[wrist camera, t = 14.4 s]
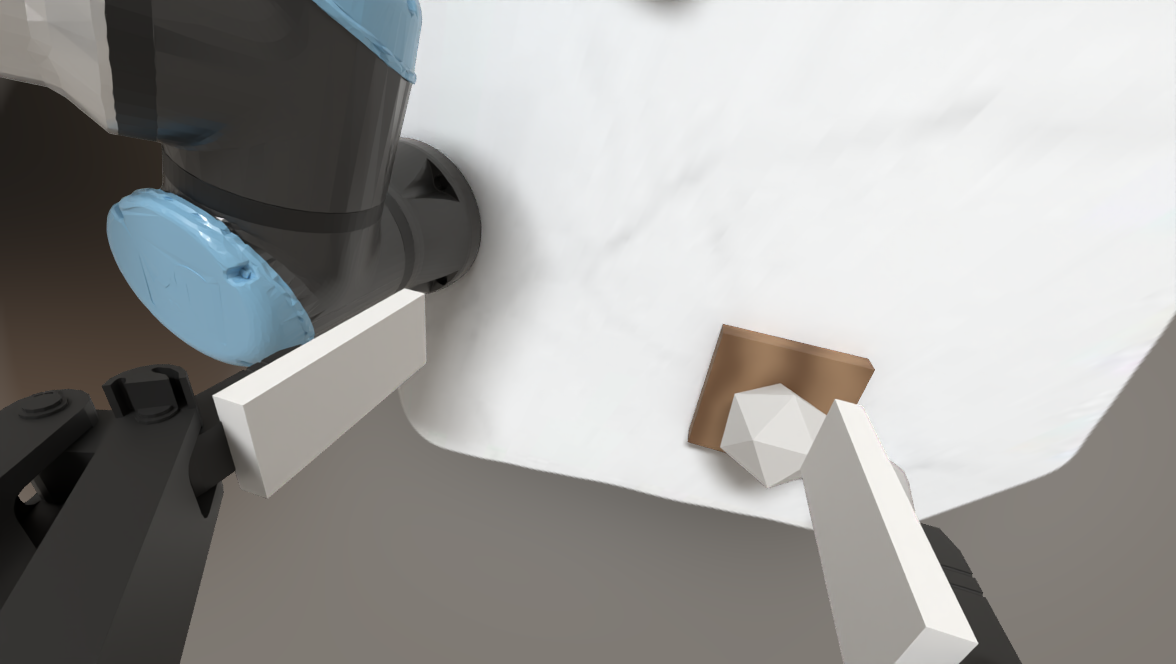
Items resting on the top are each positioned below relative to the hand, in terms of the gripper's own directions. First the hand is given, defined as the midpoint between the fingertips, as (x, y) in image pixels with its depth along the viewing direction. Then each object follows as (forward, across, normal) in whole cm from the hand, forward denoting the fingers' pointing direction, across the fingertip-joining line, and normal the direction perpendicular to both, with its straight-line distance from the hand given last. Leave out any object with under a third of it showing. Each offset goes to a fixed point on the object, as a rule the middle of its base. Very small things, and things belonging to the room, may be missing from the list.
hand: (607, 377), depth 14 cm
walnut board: (+29, +13, -16) cm, 35 cm away
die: (+27, +13, -16) cm, 34 cm away
